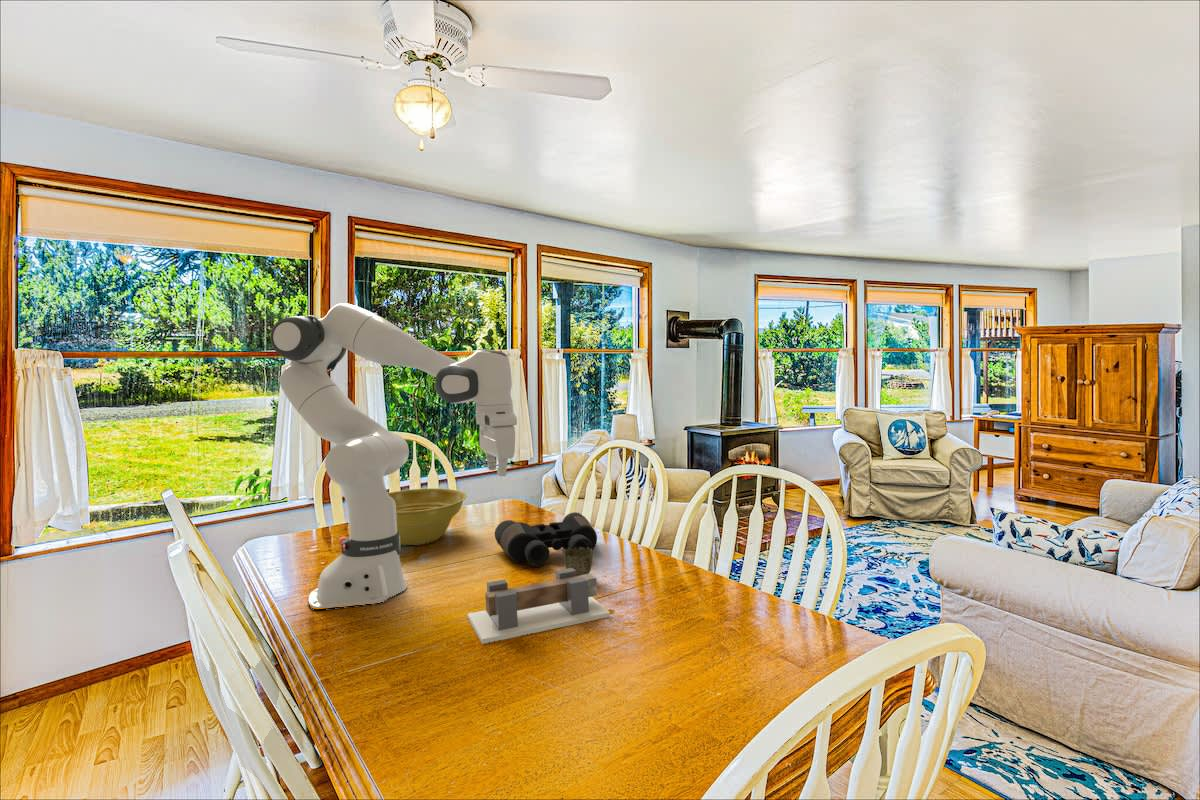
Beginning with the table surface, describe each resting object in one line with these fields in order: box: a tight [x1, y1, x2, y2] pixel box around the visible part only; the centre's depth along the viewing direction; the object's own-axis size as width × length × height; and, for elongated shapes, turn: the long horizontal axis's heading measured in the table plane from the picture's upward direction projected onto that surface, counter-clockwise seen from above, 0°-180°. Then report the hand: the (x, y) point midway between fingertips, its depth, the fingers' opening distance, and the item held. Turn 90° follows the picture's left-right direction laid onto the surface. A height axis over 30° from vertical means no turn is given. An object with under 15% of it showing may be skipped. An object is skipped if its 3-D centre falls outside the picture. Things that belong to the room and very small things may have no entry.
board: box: [467, 568, 611, 645], centre depth 133 cm, size 28×14×8 cm, turn 114°
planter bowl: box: [387, 487, 468, 546], centre depth 196 cm, size 32×32×13 cm
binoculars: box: [494, 511, 598, 567], centre depth 176 cm, size 29×20×10 cm
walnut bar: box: [485, 572, 598, 616], centre depth 133 cm, size 24×3×4 cm, turn 114°
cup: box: [562, 547, 594, 576], centre depth 154 cm, size 8×7×8 cm
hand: (496, 472), depth 148 cm, fingers open, 8 cm apart
